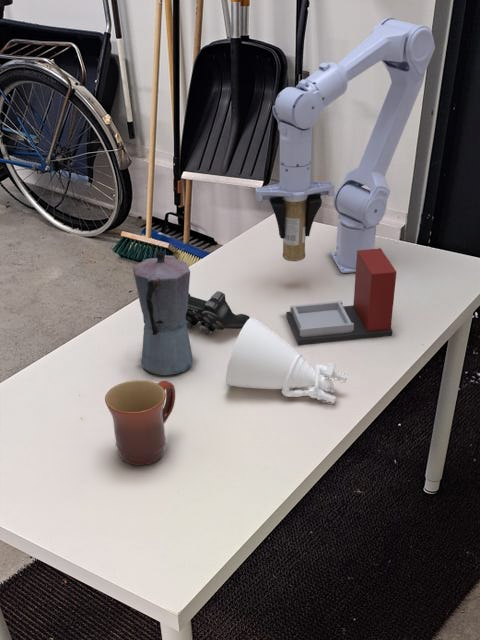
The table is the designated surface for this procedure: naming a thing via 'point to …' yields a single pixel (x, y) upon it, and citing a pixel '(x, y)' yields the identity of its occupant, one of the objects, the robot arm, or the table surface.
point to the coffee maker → (351, 321)
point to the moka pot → (164, 313)
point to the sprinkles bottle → (294, 228)
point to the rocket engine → (276, 365)
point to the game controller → (213, 314)
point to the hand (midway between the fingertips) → (294, 235)
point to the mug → (140, 418)
